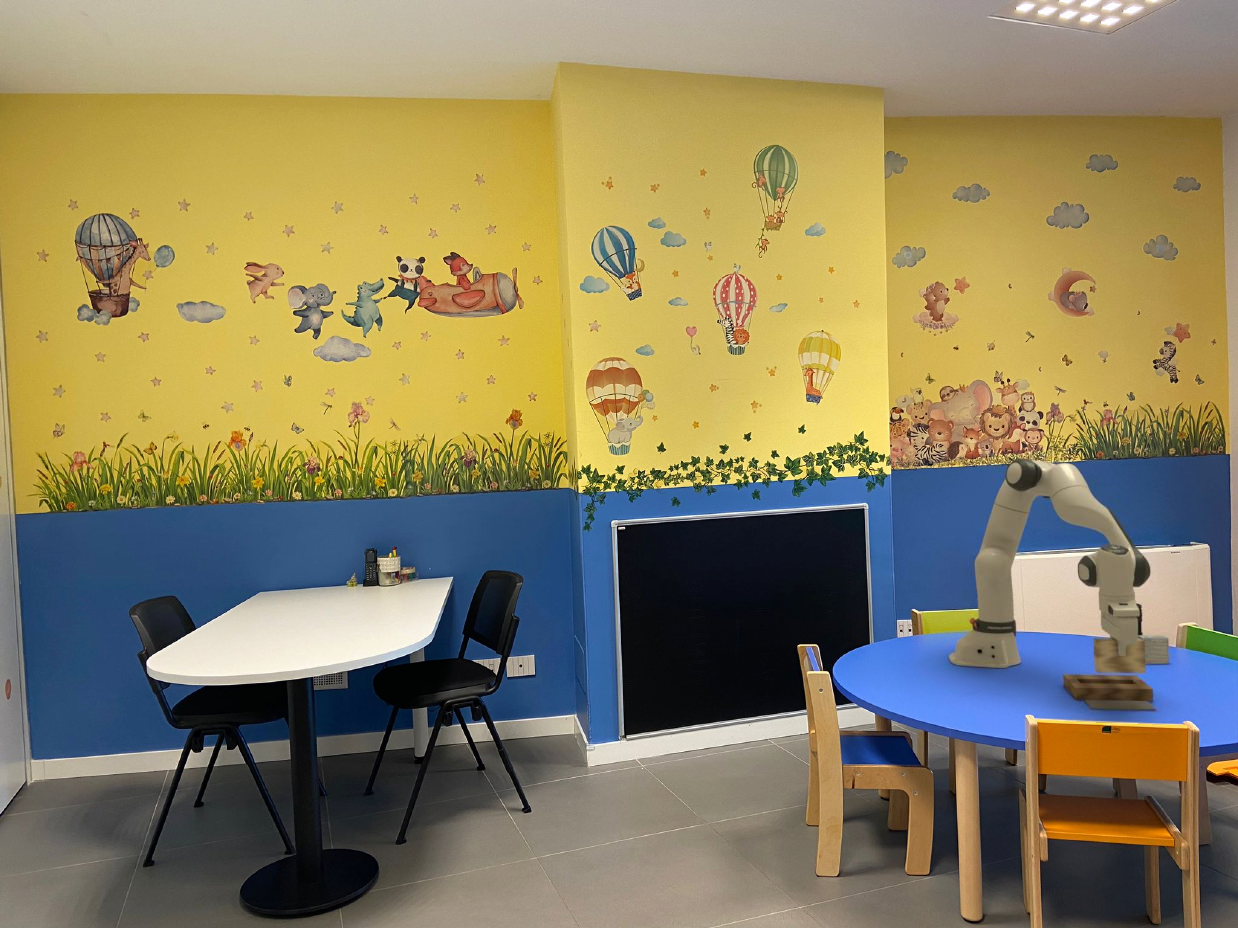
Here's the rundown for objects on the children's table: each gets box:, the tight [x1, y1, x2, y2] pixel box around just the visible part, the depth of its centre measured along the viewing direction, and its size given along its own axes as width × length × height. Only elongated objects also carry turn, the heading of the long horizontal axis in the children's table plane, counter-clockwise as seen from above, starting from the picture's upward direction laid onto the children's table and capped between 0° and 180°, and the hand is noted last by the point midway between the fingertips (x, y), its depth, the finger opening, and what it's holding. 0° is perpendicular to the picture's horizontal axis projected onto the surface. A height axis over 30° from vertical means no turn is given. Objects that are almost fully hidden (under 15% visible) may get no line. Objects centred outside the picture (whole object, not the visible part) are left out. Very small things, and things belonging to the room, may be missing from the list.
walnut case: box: [1062, 673, 1154, 702], centre depth 258 cm, size 20×14×4 cm
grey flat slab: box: [1084, 700, 1157, 712], centre depth 247 cm, size 16×7×1 cm, turn 76°
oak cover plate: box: [1093, 637, 1147, 674], centre depth 246 cm, size 12×3×9 cm, turn 76°
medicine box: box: [1138, 634, 1170, 666], centre depth 287 cm, size 8×4×9 cm, turn 84°
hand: (1119, 653), depth 246 cm, fingers closed on oak cover plate, 3 cm apart
